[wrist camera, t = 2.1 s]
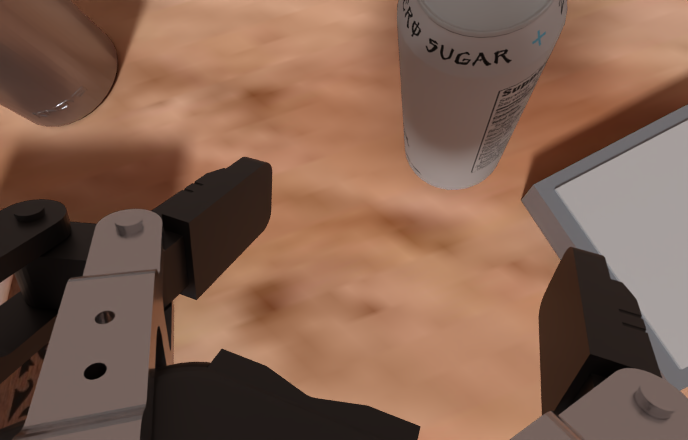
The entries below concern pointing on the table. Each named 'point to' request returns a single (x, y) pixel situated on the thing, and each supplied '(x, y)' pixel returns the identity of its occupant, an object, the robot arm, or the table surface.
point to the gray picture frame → (632, 226)
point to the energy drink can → (469, 80)
